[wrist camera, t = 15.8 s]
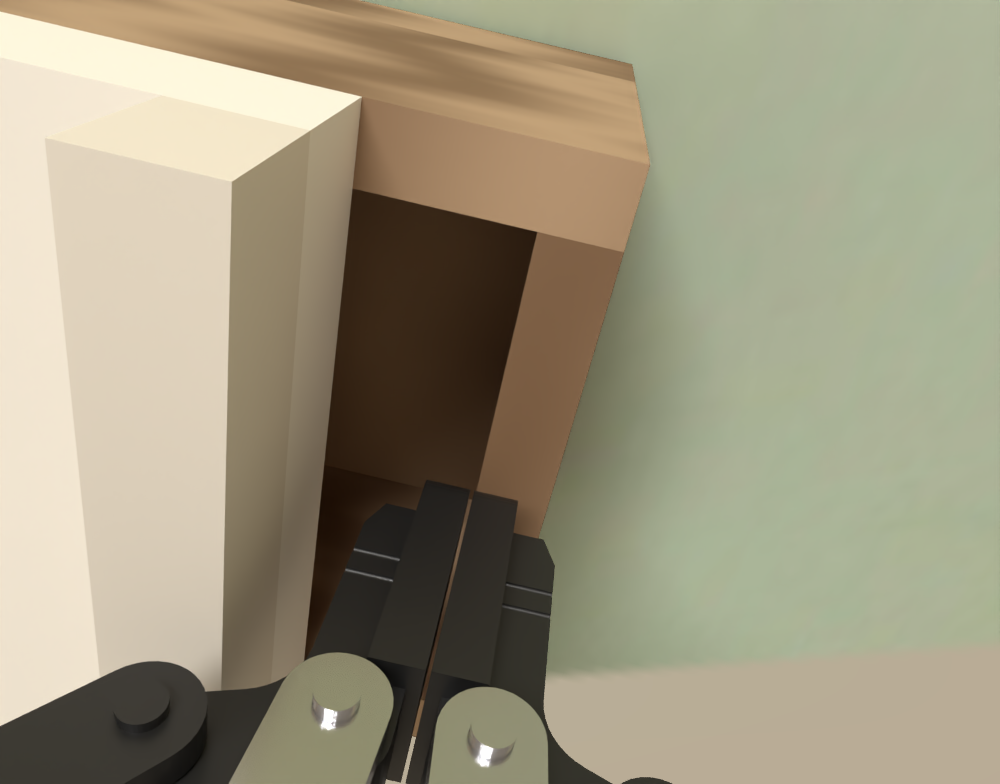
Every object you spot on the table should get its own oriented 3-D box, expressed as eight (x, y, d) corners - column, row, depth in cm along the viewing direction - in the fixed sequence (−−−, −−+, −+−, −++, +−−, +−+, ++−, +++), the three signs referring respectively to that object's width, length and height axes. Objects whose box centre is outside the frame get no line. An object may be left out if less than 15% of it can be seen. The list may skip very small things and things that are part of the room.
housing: (-180, 324, 24) (-552, 507, 16) (-317, -160, 18) (-1034, -233, 10) (517, 488, 24) (474, 751, 16) (632, 64, 18) (650, 165, 10)
